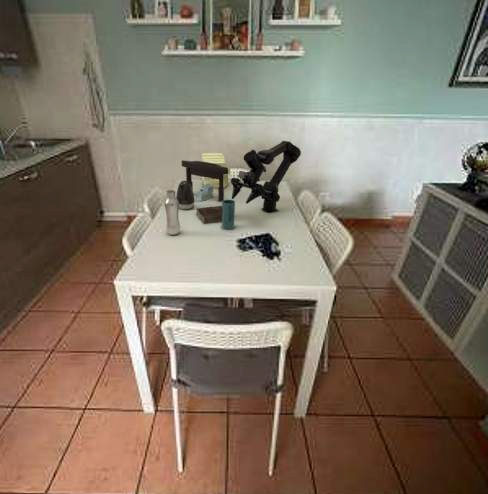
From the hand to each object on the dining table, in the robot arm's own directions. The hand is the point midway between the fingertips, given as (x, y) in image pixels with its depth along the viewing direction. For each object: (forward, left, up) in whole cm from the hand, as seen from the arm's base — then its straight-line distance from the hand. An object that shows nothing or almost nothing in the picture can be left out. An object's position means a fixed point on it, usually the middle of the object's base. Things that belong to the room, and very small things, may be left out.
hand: (239, 200), depth 157 cm
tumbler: (+7, +2, -12) cm, 14 cm away
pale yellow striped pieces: (-25, -64, -12) cm, 70 cm away
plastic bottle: (+33, -5, -12) cm, 35 cm away
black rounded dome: (+13, -33, -12) cm, 38 cm away
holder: (+7, -13, -12) cm, 19 cm away
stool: (-5, -43, -12) cm, 44 cm away
